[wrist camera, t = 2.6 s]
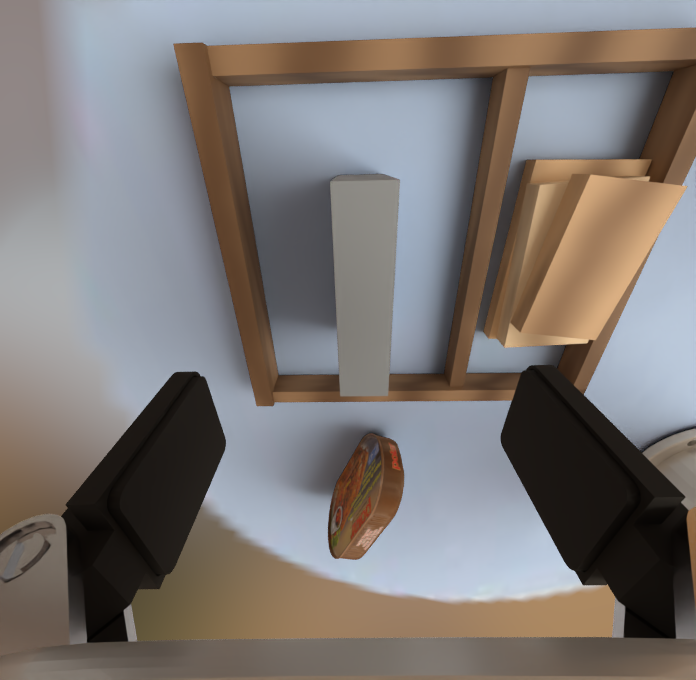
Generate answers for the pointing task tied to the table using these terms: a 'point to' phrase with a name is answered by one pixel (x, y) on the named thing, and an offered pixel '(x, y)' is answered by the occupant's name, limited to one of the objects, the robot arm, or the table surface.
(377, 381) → the grey rectangular block
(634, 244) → the offcut stack
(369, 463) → the tin
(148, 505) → the robot arm
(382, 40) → the rack
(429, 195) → the table surface
